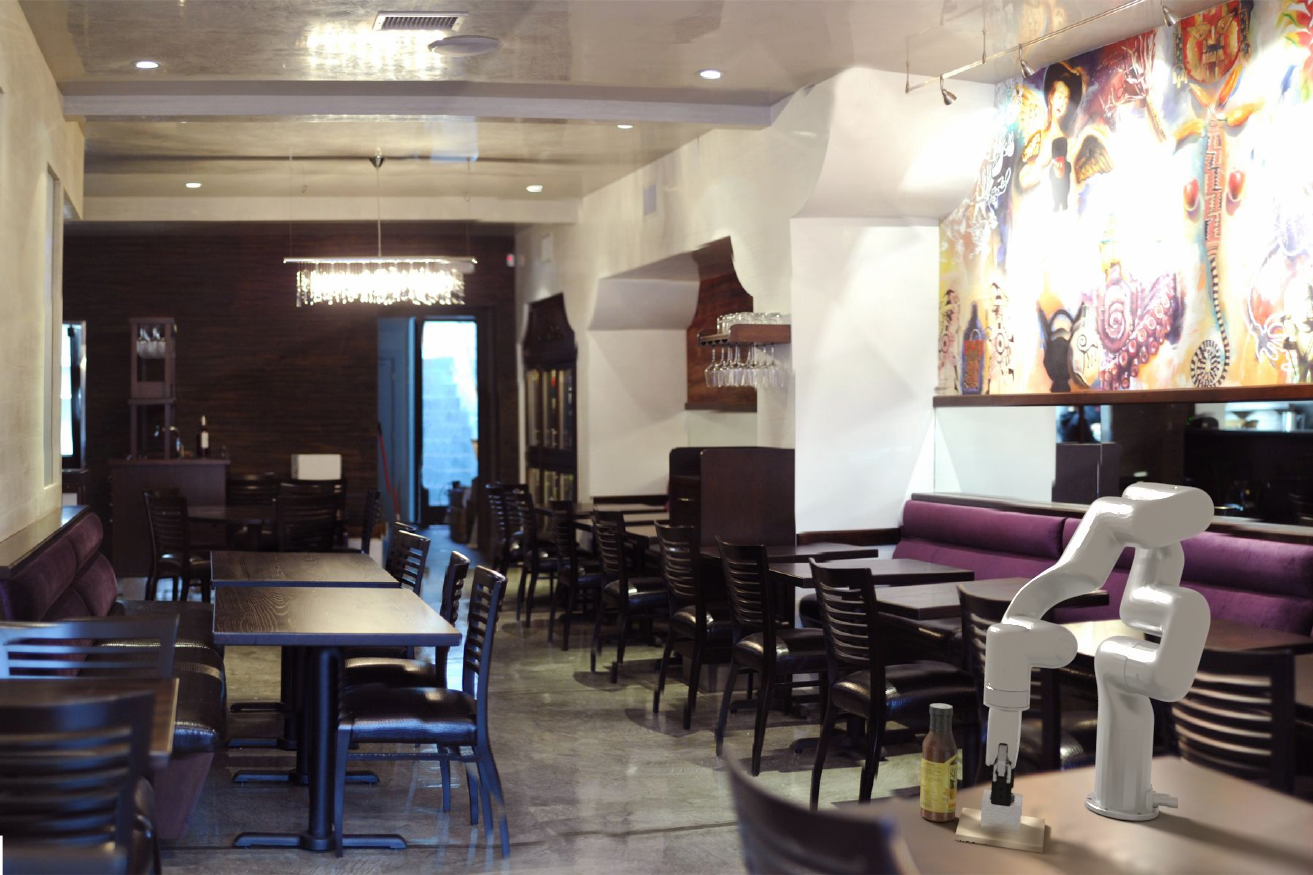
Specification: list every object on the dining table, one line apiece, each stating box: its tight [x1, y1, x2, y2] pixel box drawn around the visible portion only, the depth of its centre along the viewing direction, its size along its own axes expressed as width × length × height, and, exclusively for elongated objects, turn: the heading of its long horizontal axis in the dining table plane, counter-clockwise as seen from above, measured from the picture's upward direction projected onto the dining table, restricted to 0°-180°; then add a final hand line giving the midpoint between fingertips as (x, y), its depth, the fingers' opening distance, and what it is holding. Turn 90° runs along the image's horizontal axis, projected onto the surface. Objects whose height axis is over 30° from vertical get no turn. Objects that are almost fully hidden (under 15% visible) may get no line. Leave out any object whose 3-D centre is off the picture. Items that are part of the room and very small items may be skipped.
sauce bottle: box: [919, 702, 959, 823], centre depth 213 cm, size 6×6×20 cm
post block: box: [954, 807, 1046, 854], centre depth 206 cm, size 14×14×7 cm
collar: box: [980, 788, 1024, 835], centre depth 206 cm, size 6×6×5 cm
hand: (1002, 795), depth 206 cm, fingers open, 9 cm apart
